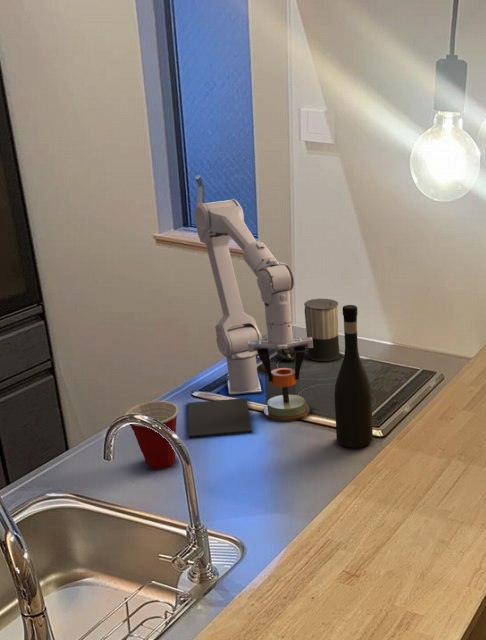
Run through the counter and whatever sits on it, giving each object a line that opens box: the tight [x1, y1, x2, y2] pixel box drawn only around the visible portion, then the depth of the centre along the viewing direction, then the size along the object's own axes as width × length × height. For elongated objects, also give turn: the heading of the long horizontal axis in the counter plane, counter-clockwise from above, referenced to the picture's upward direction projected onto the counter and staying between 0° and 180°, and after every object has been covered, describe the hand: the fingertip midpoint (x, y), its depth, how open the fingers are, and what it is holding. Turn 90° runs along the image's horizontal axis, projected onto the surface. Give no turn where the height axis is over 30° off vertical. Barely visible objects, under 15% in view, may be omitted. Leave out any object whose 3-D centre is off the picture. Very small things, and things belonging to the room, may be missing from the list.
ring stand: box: [263, 386, 311, 423], centre depth 202 cm, size 11×11×7 cm
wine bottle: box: [333, 304, 374, 449], centre depth 182 cm, size 8×8×30 cm
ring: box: [271, 367, 297, 388], centre depth 199 cm, size 6×6×3 cm
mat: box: [187, 397, 253, 439], centre depth 201 cm, size 20×14×1 cm
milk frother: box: [276, 298, 341, 362], centre depth 233 cm, size 14×16×15 cm
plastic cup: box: [124, 400, 179, 470], centre depth 177 cm, size 11×11×12 cm
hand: (283, 379), depth 200 cm, fingers closed on ring, 5 cm apart
